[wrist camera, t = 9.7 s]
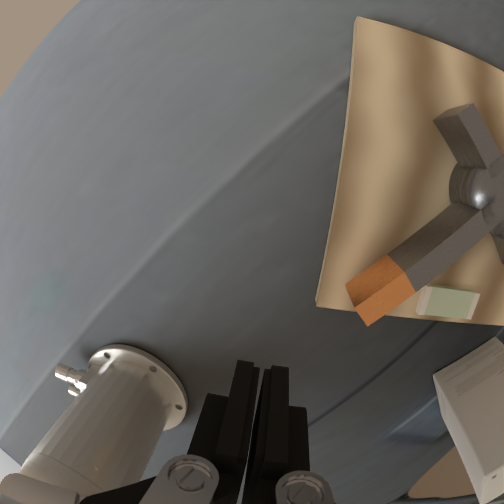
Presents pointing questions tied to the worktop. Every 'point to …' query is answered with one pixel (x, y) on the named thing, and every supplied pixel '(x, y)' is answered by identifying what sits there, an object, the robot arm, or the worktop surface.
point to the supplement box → (477, 414)
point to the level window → (447, 302)
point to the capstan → (442, 220)
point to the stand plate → (407, 163)
